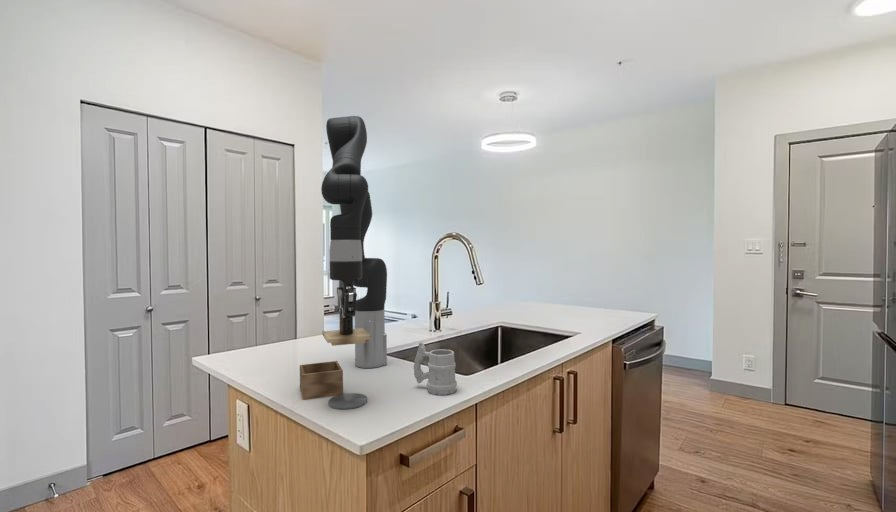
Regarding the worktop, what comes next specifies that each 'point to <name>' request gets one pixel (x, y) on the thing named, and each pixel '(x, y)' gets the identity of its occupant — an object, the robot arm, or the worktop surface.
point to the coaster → (348, 401)
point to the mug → (437, 370)
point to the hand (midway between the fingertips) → (346, 332)
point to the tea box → (321, 379)
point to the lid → (345, 336)
